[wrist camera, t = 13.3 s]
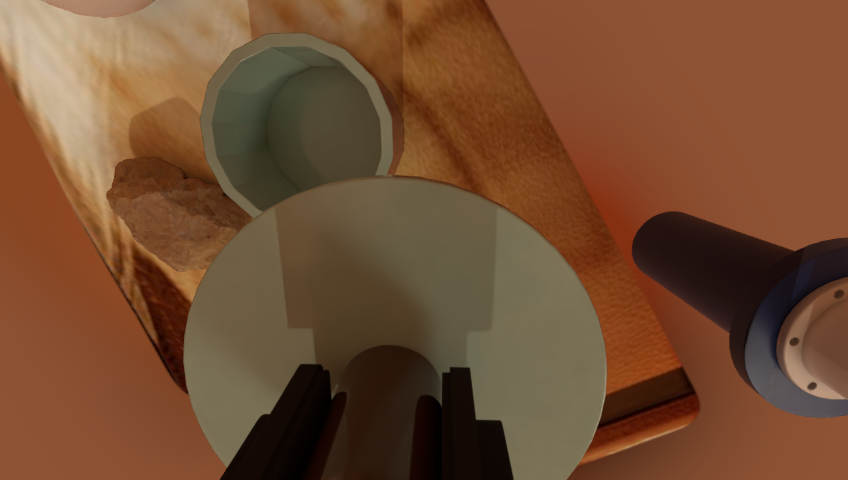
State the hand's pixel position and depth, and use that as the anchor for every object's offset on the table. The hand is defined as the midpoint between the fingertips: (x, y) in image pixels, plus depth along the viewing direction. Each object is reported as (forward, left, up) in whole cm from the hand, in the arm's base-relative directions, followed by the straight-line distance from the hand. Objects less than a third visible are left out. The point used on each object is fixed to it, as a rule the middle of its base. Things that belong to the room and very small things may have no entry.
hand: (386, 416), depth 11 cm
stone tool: (+19, -1, -24) cm, 31 cm away
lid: (0, 0, -2) cm, 2 cm away
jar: (+7, -7, -24) cm, 26 cm away
